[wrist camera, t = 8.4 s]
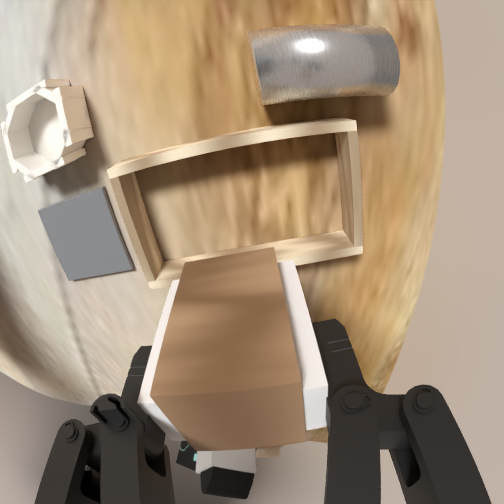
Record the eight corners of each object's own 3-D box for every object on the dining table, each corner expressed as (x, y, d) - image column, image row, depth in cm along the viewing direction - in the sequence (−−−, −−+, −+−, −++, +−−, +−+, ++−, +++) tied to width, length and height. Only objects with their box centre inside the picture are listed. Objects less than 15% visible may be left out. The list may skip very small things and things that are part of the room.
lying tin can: (260, 107, 22) (264, 102, 17) (247, 42, 20) (247, 20, 14) (372, 97, 21) (405, 93, 16) (360, 35, 19) (389, 17, 13)
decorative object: (174, 438, 49) (167, 502, 36) (214, 405, 42) (210, 489, 29) (210, 448, 51) (207, 510, 38) (257, 417, 44) (261, 496, 31)
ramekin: (39, 175, 24) (16, 188, 20) (21, 106, 20) (-3, 110, 16) (98, 150, 23) (77, 160, 20) (80, 71, 19) (57, 70, 16)
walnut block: (207, 327, 15) (196, 451, 9) (184, 262, 13) (149, 396, 7) (284, 315, 15) (306, 441, 9) (273, 246, 13) (301, 381, 7)
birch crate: (159, 269, 29) (150, 289, 26) (122, 160, 24) (106, 169, 21) (350, 236, 28) (362, 253, 25) (341, 117, 23) (355, 120, 19)
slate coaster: (71, 277, 30) (69, 280, 29) (40, 208, 25) (38, 210, 25) (133, 266, 29) (132, 269, 29) (104, 186, 25) (101, 188, 24)
